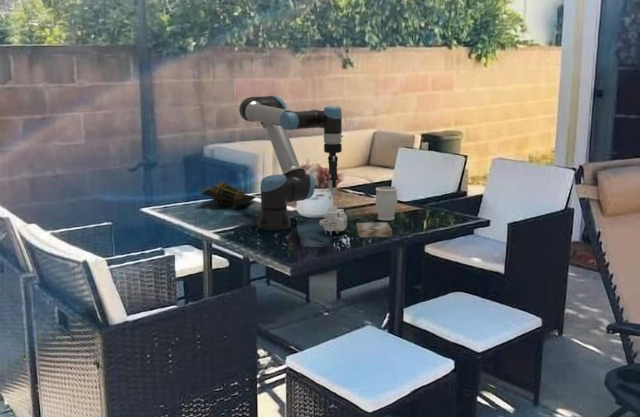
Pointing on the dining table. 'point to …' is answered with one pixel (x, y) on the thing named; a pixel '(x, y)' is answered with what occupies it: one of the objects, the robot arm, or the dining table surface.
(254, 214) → the dining table surface
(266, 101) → the robot arm
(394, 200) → the jar
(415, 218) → the dining table surface
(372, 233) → the stand
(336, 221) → the mechanical part
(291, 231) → the dining table surface
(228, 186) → the lantern
